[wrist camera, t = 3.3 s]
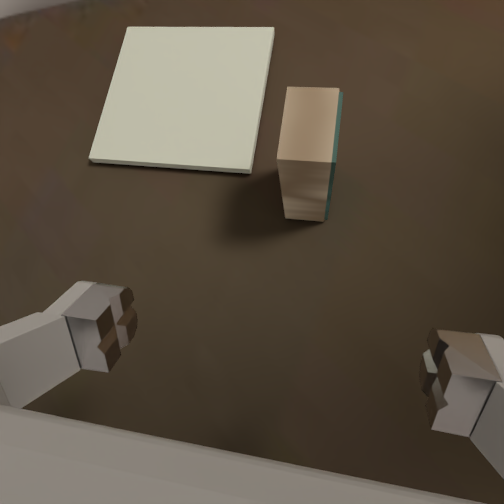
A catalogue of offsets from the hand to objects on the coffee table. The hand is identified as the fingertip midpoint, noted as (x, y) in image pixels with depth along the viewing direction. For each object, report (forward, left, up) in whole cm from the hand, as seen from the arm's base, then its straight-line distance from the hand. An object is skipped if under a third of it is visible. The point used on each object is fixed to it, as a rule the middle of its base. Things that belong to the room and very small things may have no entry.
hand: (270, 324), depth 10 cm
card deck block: (0, -10, -13) cm, 16 cm away
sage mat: (+10, -17, -12) cm, 23 cm away
